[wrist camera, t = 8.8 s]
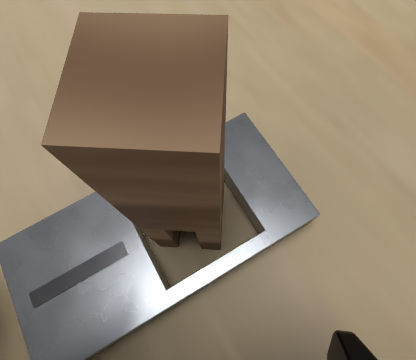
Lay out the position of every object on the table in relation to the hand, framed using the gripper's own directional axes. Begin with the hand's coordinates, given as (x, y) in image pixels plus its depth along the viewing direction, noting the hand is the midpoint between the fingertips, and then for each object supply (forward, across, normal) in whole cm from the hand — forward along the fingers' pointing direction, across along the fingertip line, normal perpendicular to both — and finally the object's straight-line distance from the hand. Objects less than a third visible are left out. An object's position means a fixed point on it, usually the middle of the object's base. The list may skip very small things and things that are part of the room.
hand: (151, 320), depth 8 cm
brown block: (+11, 0, +3) cm, 11 cm away
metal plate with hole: (+10, +2, +4) cm, 11 cm away
